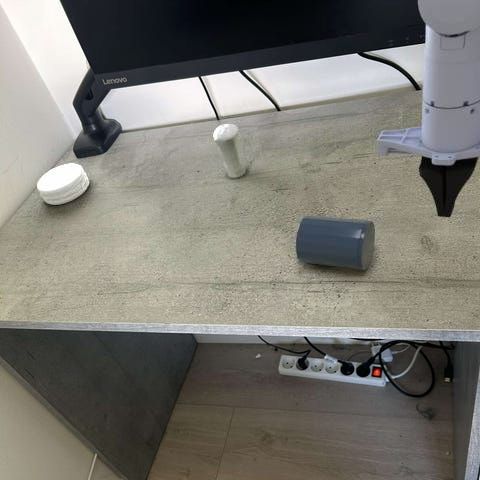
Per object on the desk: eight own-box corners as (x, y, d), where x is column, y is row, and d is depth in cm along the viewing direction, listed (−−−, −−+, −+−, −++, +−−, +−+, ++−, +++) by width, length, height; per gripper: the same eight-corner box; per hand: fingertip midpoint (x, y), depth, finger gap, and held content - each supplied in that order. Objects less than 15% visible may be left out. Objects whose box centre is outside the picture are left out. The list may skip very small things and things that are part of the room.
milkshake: (249, 179, 88) (235, 127, 80) (222, 180, 90) (206, 129, 82) (256, 165, 90) (244, 113, 83) (229, 166, 92) (215, 116, 85)
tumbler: (376, 215, 65) (312, 210, 69) (363, 229, 60) (295, 223, 64) (373, 260, 68) (312, 253, 72) (360, 277, 63) (295, 268, 67)
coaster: (86, 171, 105) (78, 156, 102) (93, 192, 98) (85, 177, 96) (42, 190, 104) (33, 176, 101) (47, 212, 97) (38, 197, 95)
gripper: (365, 115, 47) (371, 226, 57) (538, 115, 40) (511, 242, 50) (386, 80, 51) (389, 190, 60) (549, 75, 44) (522, 200, 54)
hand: (445, 211), depth 55 cm, fingers closed
